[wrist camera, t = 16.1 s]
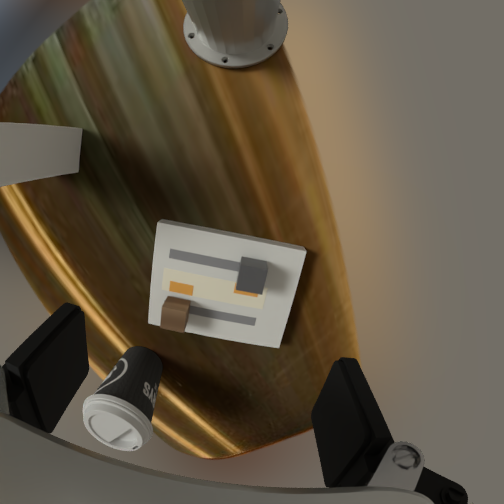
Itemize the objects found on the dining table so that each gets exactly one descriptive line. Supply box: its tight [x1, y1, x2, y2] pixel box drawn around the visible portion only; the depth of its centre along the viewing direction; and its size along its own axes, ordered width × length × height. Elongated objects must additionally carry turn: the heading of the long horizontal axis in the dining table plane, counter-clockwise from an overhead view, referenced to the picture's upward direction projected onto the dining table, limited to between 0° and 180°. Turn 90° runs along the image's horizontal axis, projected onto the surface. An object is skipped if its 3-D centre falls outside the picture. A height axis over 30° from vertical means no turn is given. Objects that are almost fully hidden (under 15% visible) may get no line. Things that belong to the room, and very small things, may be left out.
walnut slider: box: [160, 296, 191, 333], centre depth 37 cm, size 3×3×3 cm
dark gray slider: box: [236, 256, 268, 295], centre depth 35 cm, size 3×3×3 cm
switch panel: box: [148, 219, 307, 348], centre depth 39 cm, size 14×18×2 cm
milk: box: [0, 122, 83, 187], centre depth 24 cm, size 6×6×22 cm
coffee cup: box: [83, 346, 163, 451], centre depth 37 cm, size 10×10×15 cm
